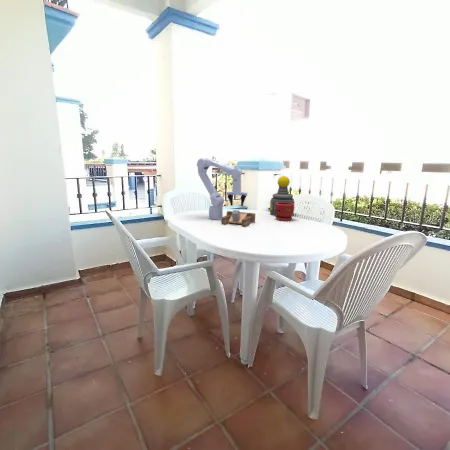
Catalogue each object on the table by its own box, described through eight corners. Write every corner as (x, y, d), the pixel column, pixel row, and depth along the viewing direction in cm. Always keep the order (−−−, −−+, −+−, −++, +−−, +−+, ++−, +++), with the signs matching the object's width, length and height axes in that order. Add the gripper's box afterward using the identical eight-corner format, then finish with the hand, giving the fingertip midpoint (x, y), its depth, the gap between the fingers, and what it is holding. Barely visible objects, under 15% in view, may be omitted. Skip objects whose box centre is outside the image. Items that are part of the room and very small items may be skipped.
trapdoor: (228, 222, 184) (228, 221, 183) (233, 213, 191) (233, 212, 190) (242, 223, 180) (242, 222, 179) (247, 215, 187) (246, 213, 186)
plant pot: (295, 221, 192) (296, 204, 189) (276, 221, 192) (277, 204, 189) (291, 217, 204) (292, 201, 202) (273, 217, 205) (274, 201, 202)
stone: (232, 220, 182) (231, 213, 179) (234, 217, 185) (233, 210, 182) (238, 221, 181) (237, 213, 177) (240, 217, 184) (239, 210, 180)
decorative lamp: (275, 217, 205) (278, 176, 198) (265, 212, 223) (267, 175, 216) (298, 216, 210) (301, 176, 203) (286, 211, 228) (289, 175, 220)
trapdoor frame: (219, 224, 182) (219, 215, 180) (228, 219, 196) (228, 211, 195) (248, 227, 175) (248, 217, 173) (255, 221, 189) (255, 213, 188)
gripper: (224, 186, 187) (225, 206, 190) (245, 186, 182) (245, 207, 185) (228, 185, 193) (228, 204, 197) (248, 185, 188) (248, 205, 191)
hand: (236, 205), depth 191 cm, fingers open, 7 cm apart
